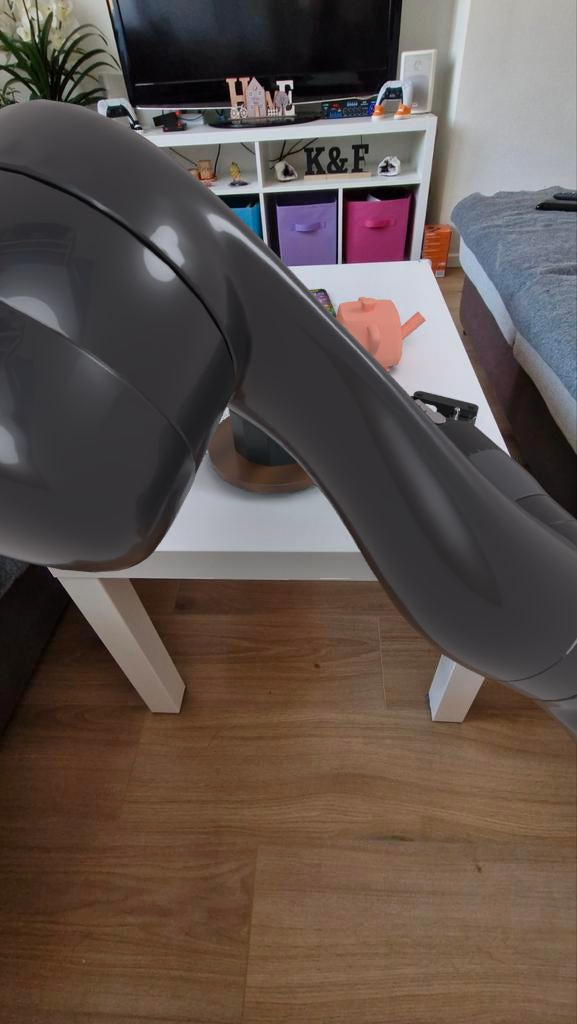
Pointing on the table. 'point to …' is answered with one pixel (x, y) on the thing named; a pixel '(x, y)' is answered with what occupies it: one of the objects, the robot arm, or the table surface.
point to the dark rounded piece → (254, 459)
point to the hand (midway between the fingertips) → (369, 386)
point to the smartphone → (324, 299)
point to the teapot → (378, 327)
